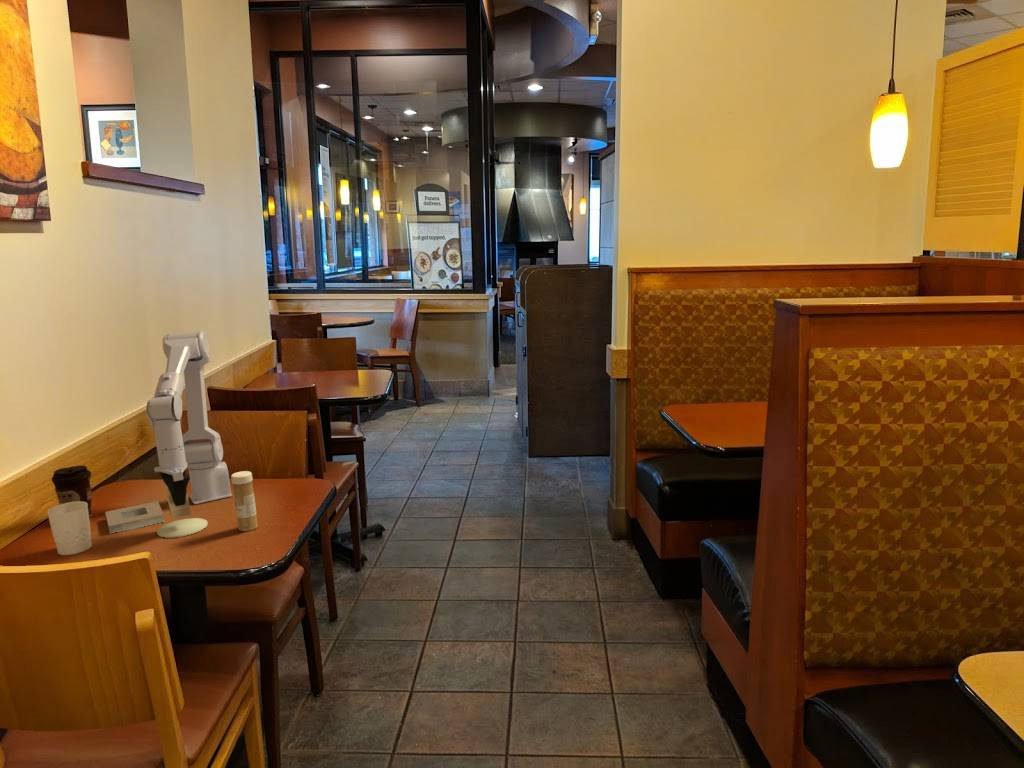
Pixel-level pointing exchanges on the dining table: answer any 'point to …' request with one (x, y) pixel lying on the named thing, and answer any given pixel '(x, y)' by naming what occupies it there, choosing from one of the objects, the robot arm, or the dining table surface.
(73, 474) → the coffee cup
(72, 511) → the white cup
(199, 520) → the mat
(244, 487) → the sprinkles bottle
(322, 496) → the dining table surface
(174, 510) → the square peg
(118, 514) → the socket block
